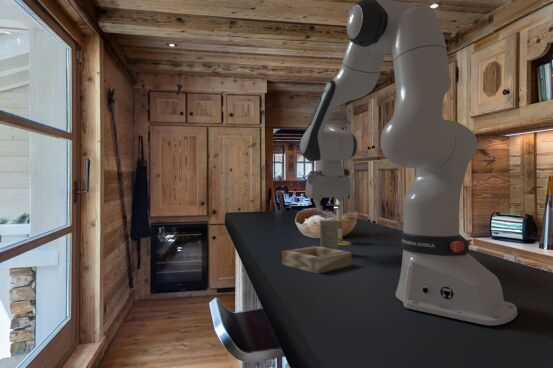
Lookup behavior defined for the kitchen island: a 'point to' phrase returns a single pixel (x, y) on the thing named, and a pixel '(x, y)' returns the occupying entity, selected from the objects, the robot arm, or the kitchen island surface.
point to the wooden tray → (317, 259)
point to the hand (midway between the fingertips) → (328, 210)
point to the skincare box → (329, 234)
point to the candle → (340, 220)
